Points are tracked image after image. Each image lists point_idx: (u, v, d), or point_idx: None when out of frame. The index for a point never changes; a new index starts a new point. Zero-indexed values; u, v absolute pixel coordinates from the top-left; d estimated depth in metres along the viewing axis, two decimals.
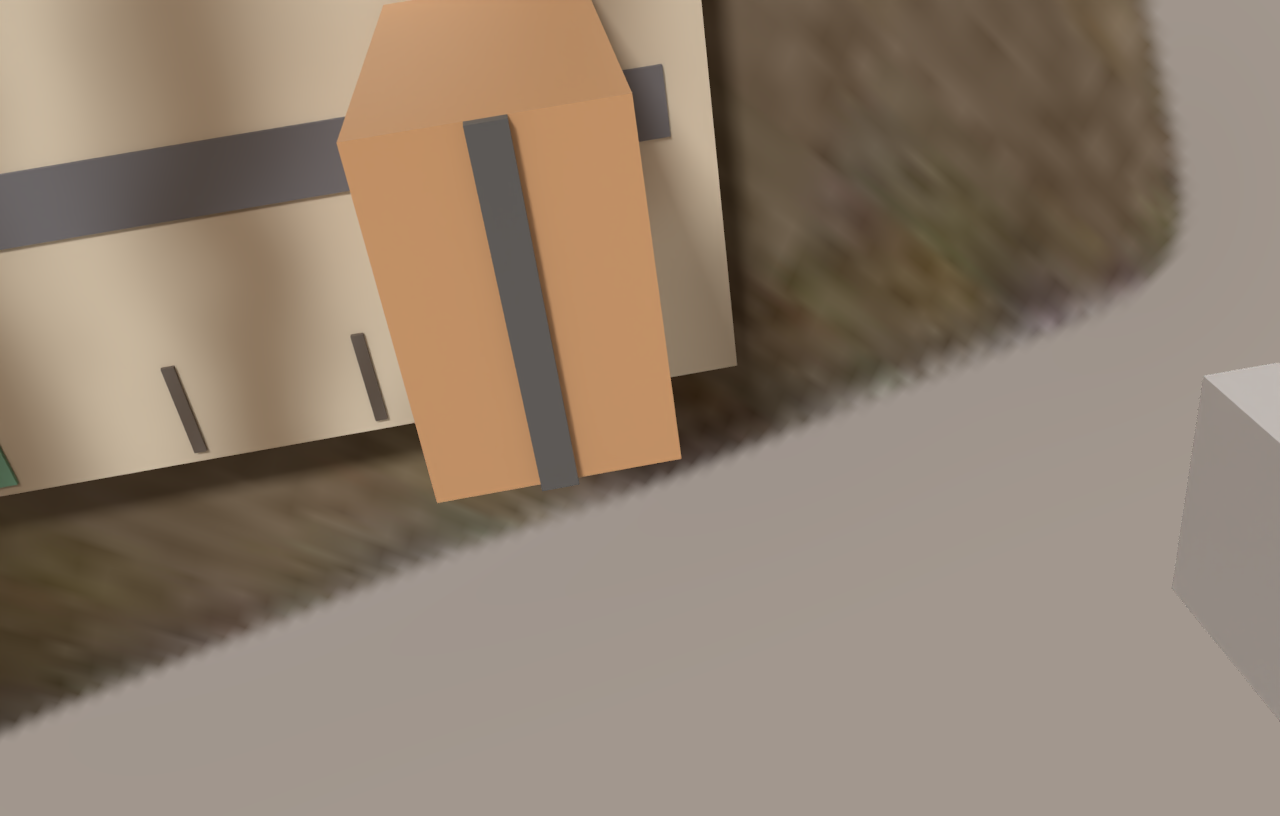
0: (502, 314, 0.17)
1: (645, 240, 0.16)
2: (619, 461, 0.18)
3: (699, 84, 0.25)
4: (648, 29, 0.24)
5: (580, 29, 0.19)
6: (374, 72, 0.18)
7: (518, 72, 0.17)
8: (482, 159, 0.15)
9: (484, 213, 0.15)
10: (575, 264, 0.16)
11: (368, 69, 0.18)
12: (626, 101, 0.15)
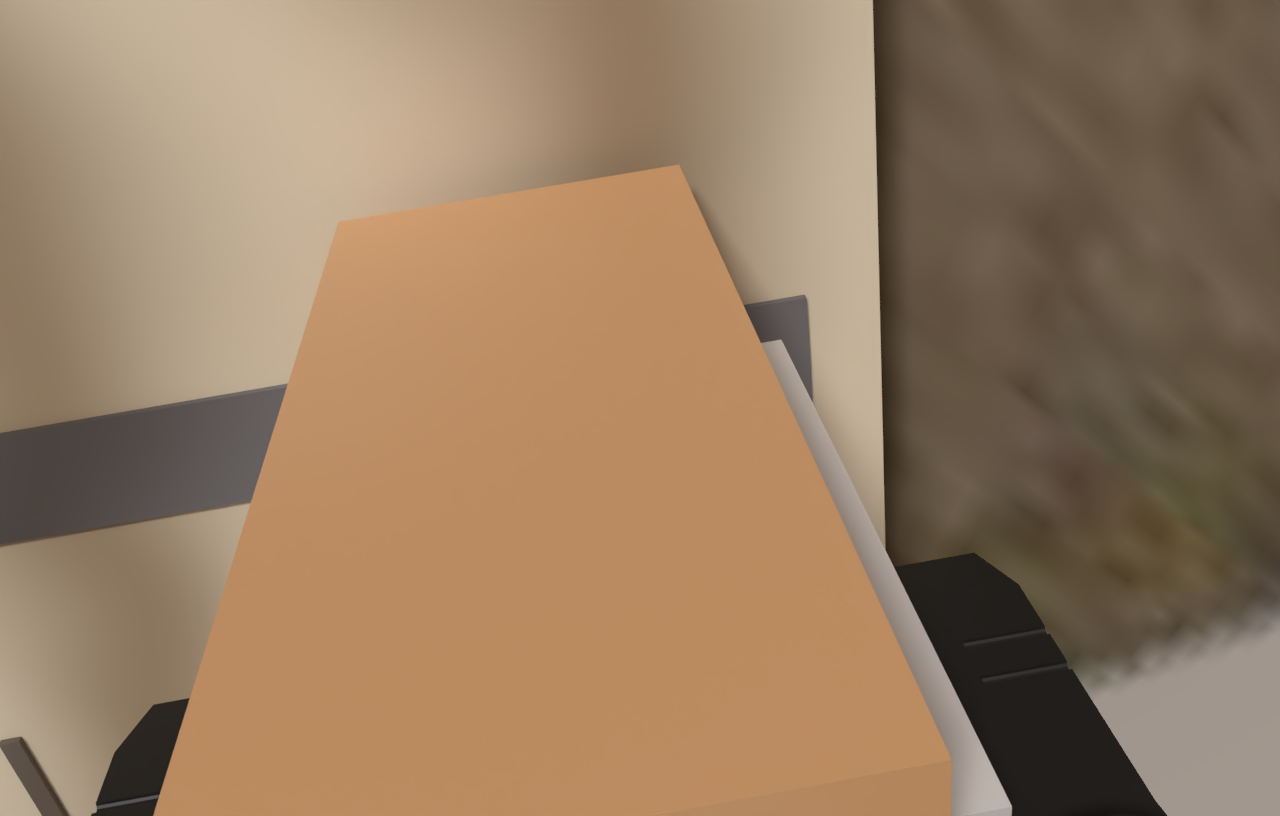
0: None
1: None
2: None
3: (863, 323, 0.15)
4: (786, 243, 0.14)
5: (722, 367, 0.09)
6: (287, 483, 0.08)
7: (609, 551, 0.07)
8: None
9: None
10: None
11: (277, 467, 0.09)
12: (931, 772, 0.06)
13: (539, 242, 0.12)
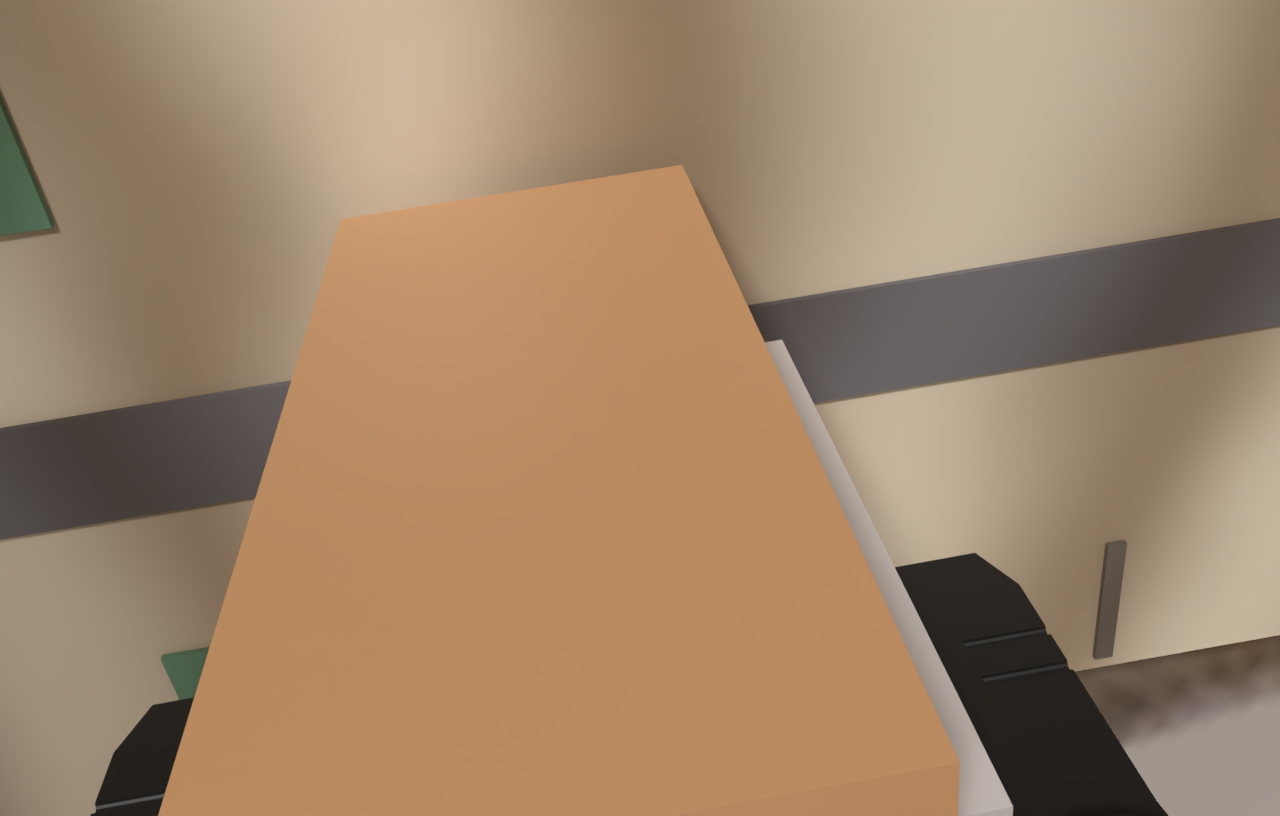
0: None
1: None
2: None
3: None
4: None
5: (727, 368, 0.09)
6: (291, 481, 0.08)
7: (615, 552, 0.07)
8: None
9: None
10: None
11: (280, 465, 0.09)
12: (939, 775, 0.06)
13: (542, 241, 0.12)
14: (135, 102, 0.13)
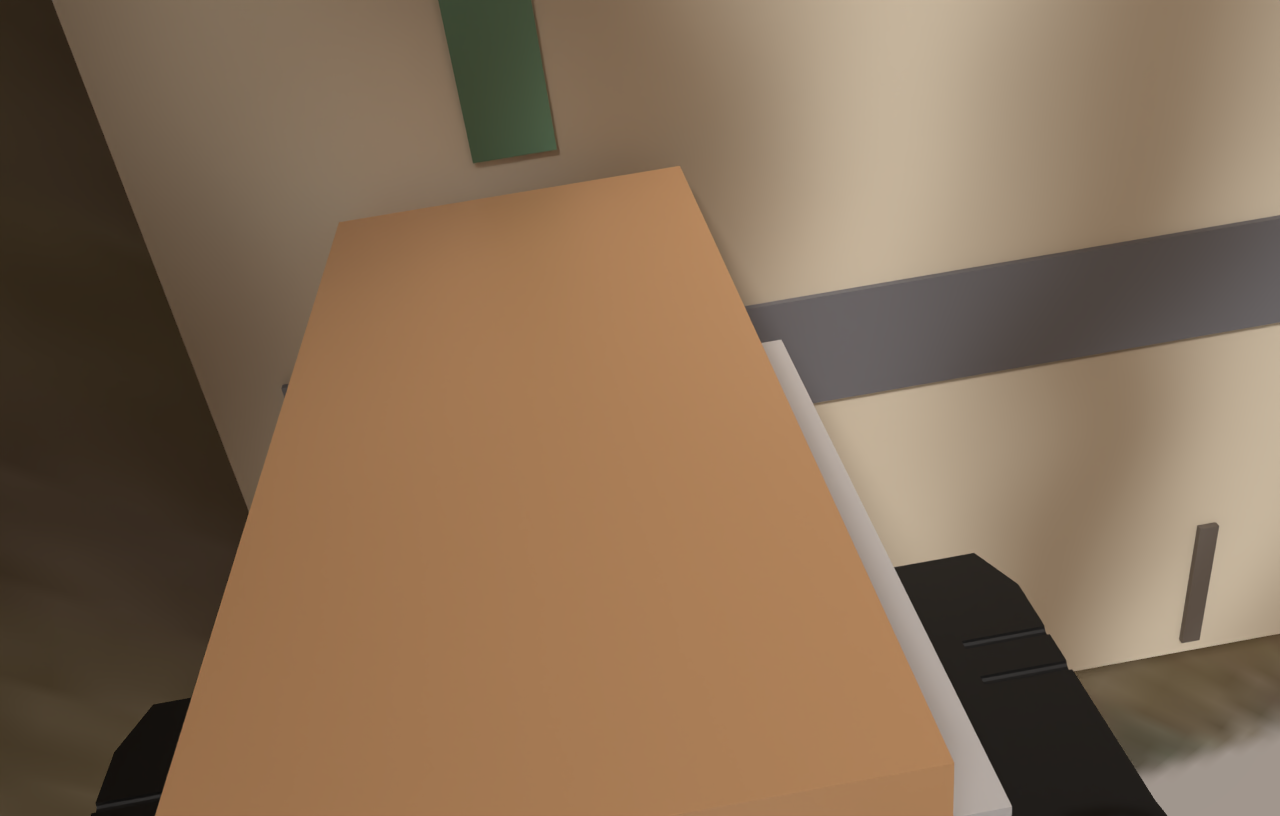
0: None
1: None
2: None
3: None
4: None
5: (723, 369, 0.09)
6: (288, 484, 0.08)
7: (610, 554, 0.07)
8: None
9: None
10: None
11: (277, 468, 0.09)
12: (933, 776, 0.06)
13: (540, 243, 0.12)
14: (658, 22, 0.13)
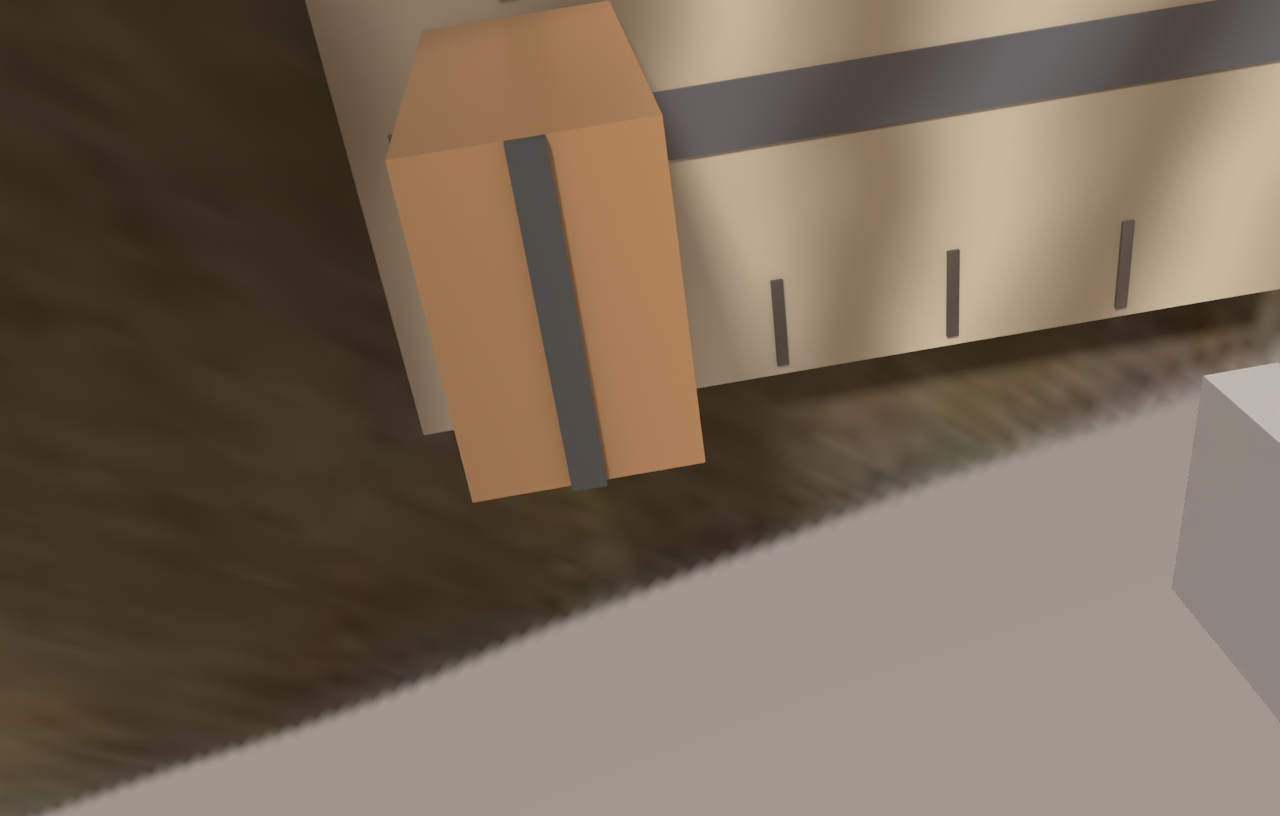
0: (537, 323, 0.17)
1: (673, 253, 0.17)
2: (646, 464, 0.19)
3: None
4: None
5: (611, 54, 0.20)
6: (417, 94, 0.19)
7: (554, 95, 0.18)
8: (521, 176, 0.16)
9: (522, 227, 0.16)
10: (606, 275, 0.17)
11: (411, 91, 0.19)
12: (656, 122, 0.16)
13: (531, 29, 0.22)
14: None
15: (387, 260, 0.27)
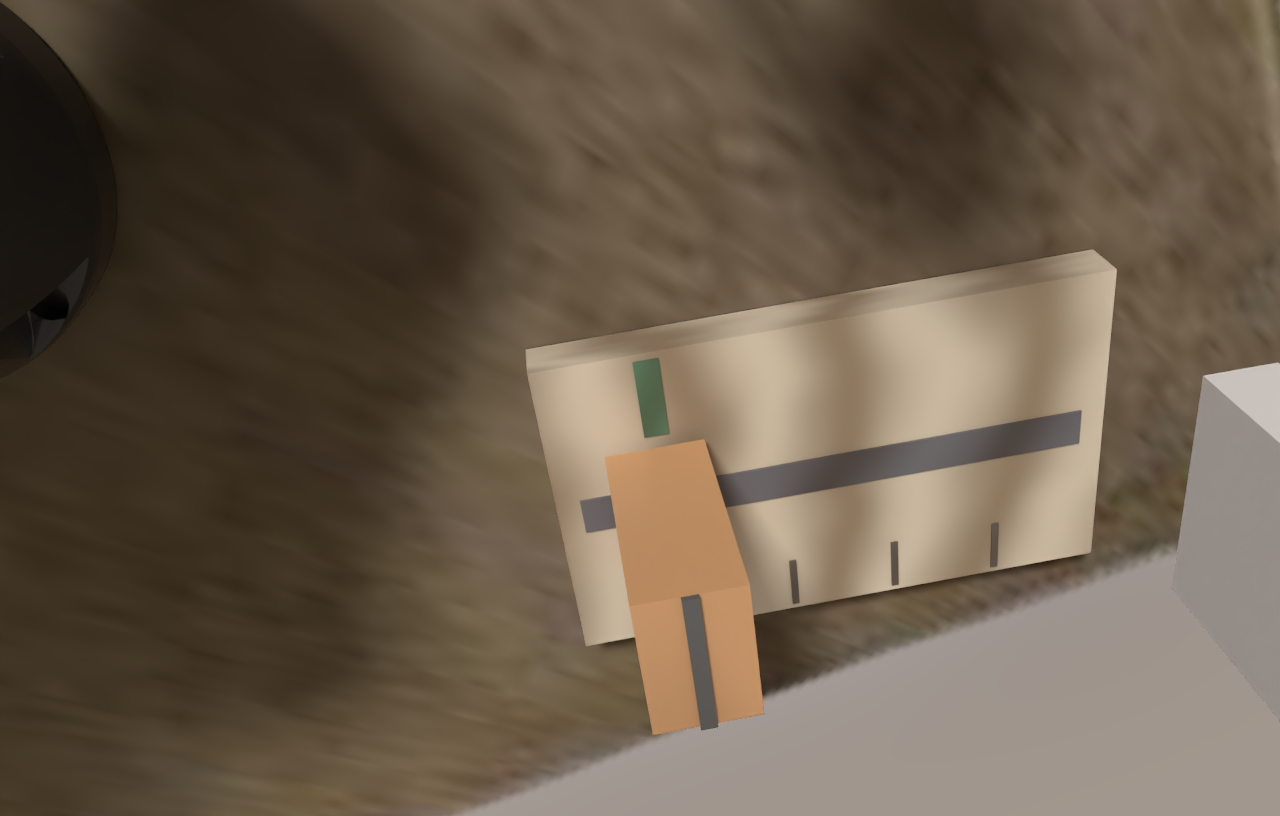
0: (689, 662, 0.38)
1: (752, 633, 0.38)
2: (736, 716, 0.40)
3: (1097, 418, 0.47)
4: (1077, 395, 0.46)
5: (716, 512, 0.40)
6: (625, 539, 0.40)
7: (695, 554, 0.38)
8: (688, 611, 0.37)
9: (687, 629, 0.37)
10: (721, 643, 0.38)
11: (621, 536, 0.40)
12: (747, 586, 0.37)
13: (667, 469, 0.43)
14: (699, 399, 0.44)
15: (573, 559, 0.47)
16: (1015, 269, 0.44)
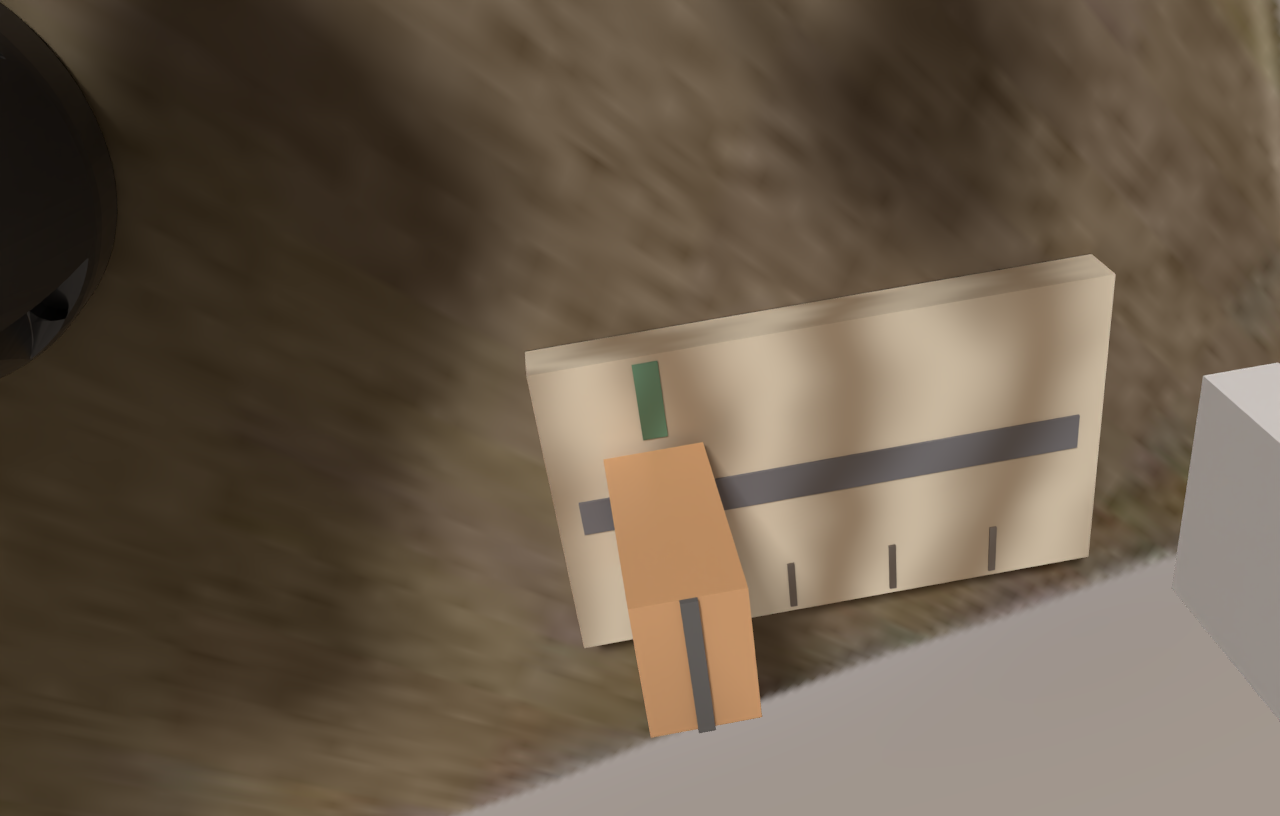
0: (687, 665, 0.38)
1: (750, 637, 0.38)
2: (733, 719, 0.40)
3: (1095, 422, 0.47)
4: (1075, 399, 0.46)
5: (715, 515, 0.40)
6: (623, 542, 0.40)
7: (693, 556, 0.39)
8: (686, 614, 0.37)
9: (685, 632, 0.37)
10: (720, 646, 0.38)
11: (619, 538, 0.40)
12: (745, 590, 0.37)
13: (666, 472, 0.43)
14: (698, 402, 0.44)
15: (572, 561, 0.47)
16: (1014, 273, 0.45)
